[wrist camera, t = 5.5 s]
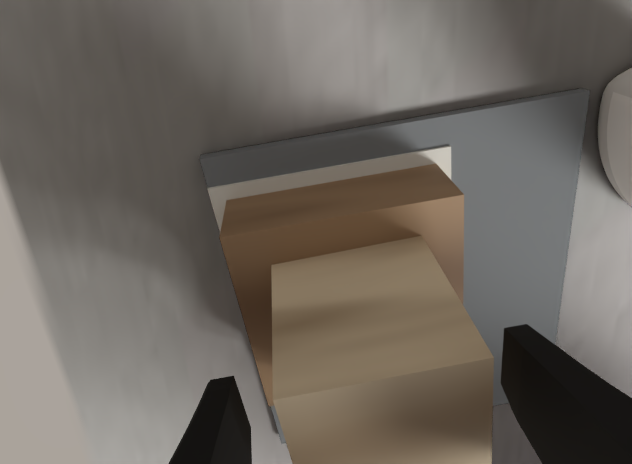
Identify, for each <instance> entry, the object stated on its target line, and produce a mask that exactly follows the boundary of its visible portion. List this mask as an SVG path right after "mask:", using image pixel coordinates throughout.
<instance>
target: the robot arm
mask: <svg viewBox="0 0 632 464" xmlns="http://www.w3.org/2000/svg"><path fill="white" fill-rule="evenodd" d="M501 385H502V388H503V390H504V392H505V395H506V397H507V399H508V402H509V404H510V406H511V408H512V410H513V413H514V415H515V417H516V419H517V421H518V423H519V424H520V426H521V428H522V430H523V431H524V433H525V435H526V436H527V438H528V440H529V442H530V443H531V445H532V447H533V448H534V450H535V452H536V453H537V455H538V457H539V458H540V460H541V462H542V463H543V464H632V398H630V397H629V396H627V395H626V394H624V393H623V392H621V391H619V390H618V389H616V388H615V387H613V386H612V385H610V384H609V383H608V382H606V381H605V380H603V379H602V378H600V377H599V376H598V375H596V374H595V373H593V372H592V371H590V370H589V369H587V368H586V367H585V366H583V365H582V364H580V363H579V362H578V361H576V360H575V359H574V358H572V357H571V356H569V355H568V354H567V353H565V352H564V351H563V350H561V349H560V348H559V347H557V346H556V345H555V344H553V343H552V342H551V341H549V340H548V339H547V338H545V337H544V336H543V335H541V334H540V333H539V332H537V331H536V330H534V329H533V328H532V327H530V326H529V325H528V324H524V325H518V326H512V327H507V328H504V336H503V352H502V367H501ZM169 464H252V455H251V427H250V424H249V421H248V418H247V415H246V412H245V409H244V406H243V403H242V400H241V396H240V393H239V390H238V387H237V384H236V381H235V378H234V376H230V377H224V378H219V379H213V380H210V382H209V383H208V384H207V387H206V389H205V391H204V393H203V396H202V398H201V400H200V402H199V405H198V407H197V409H196V411H195V413H194V415H193V417H192V419H191V421H190V423H189V426H188V428H187V430H186V432H185V433H184V435H183V437H182V439H181V441H180V443H179V445H178V447H177V449H176V451H175V453H174V455H173V456H172V458H171V460H170V462H169Z"/></svg>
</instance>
